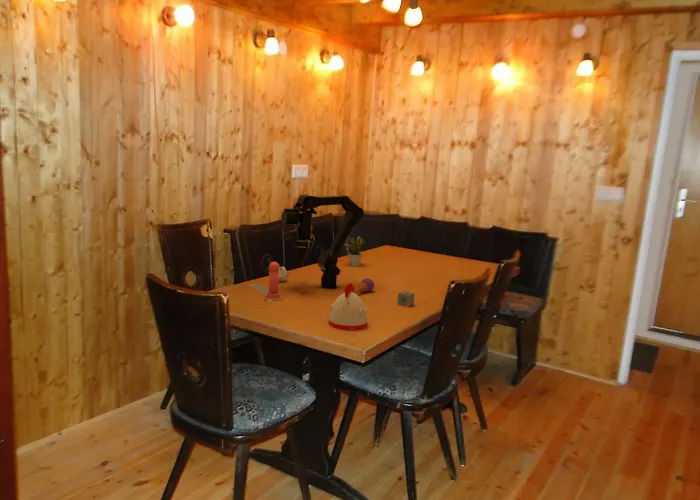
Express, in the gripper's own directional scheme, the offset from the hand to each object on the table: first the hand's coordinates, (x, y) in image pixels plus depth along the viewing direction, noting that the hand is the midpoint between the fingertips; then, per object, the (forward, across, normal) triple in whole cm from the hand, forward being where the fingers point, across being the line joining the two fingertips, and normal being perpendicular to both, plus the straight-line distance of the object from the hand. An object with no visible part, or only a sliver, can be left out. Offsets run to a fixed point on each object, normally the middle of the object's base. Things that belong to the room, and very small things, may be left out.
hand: (303, 259), depth 245 cm
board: (+13, +11, -14) cm, 22 cm away
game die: (+13, -8, -12) cm, 20 cm away
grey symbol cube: (+13, +12, +45) cm, 48 cm away
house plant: (+13, -60, +18) cm, 64 cm away
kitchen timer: (+13, +44, +24) cm, 52 cm away
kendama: (+13, +1, +25) cm, 28 cm away
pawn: (+12, +18, -9) cm, 23 cm away
